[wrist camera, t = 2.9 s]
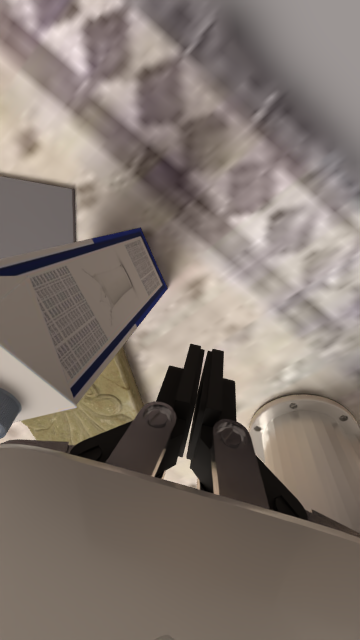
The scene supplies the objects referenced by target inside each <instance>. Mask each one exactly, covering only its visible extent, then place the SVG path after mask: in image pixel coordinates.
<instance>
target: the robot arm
mask: <svg viewBox="0 0 360 640" xmlns="http://www.w3.org/2000/svg"><path fill="white" fill-rule="evenodd" d="M204 351H205V350H203V349H201V346H198V345H194V344H190V347H189V351H188V354H187V358H186V362H185V365H184V369H182V368H178V367H174V366H169V368H168V370H167V373H166V376H165V378H164V381H163V384H162V387H161V389H160V392H159V395H158V397H157V400H156V402H150V403H148V404H146V405H144V406H143V407H142V408H141V409H140V411H139V412H138V414H137V416H136V417H135V419H134V420H133V421H130V422H128V423H125V424H123V425H120V426H118V427H115V428H113V429H110V430H108V431H105V432H103V433H100V434H98V435H95V436H93V437H90V438H88V439H86V440H83V441H81V442H80V443H78V444H76V445H69V442H63V441H41V440H18V439H17V440H9V441H6V442H4V443H1V444H0V640H360V428H359V426H358V423H357V422H356V420H355V419H354V417H353V415H352V414H351V413H350V412H349V411H348V410H347V409H346V408H345V407H343V406H342V405H340V404H339V403H337V402H335V401H333V400H330V399H328V398H325V397H320V396H316V395H307V394H300V395H290V396H285V397H281V398H278V399H275V400H273V401H271V402H269V403H267V404H266V405H264V406H263V407H262V408H260V409H259V410H258V411H257V412H256V414H255V415H254V416H253V418H252V420H251V422H250V426H249V432H248V430H247V429H246V428H245V427H244V426H243V425H242V424H240V423H238V422H236V396H235V381H233V380H228V379H224V378H223V360H224V351H220V350H216V349H213V350H212V351H208V352H207V356H206V361H205V365H204V369H203V373H202V377H201V381H200V375H201V369H202V363H203V357H204ZM199 381H200V385H199ZM198 387H199V389H198ZM197 392H198V393H197ZM194 408H195V410H194ZM193 413H194V416H193ZM192 417H193V422H192V428H191V434H190V440H189V446H188V452H187V459H190V460H191V464H190V469H192V470H193V472H194V473H195V475H196V476H197V477H198V479H197V489H195V488H192V487H188V486H185V485H181V484H178V483H174V482H170V481H167V480H163V478H164V476H165V472H166V470H167V469H169V468H171V467H172V466H174V465H176V462H177V458H178V456H179V457H183V453H184V449H185V445H186V441H187V437H188V433H189V429H190V425H191V421H192ZM256 455H257V456H258V457H257V456H256ZM260 459H261V460H262V461H263V462H264V463H265V464H264V463H263V462H262V461H261V460H260Z"/></svg>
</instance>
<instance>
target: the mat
mask: <svg viewBox="0 0 360 640" xmlns="http://www.w3.org/2000/svg"><path fill="white" fill-rule="evenodd" d="M74 242H76V241H75V195H74V189H69V188H64V187H58V186H53V185H47V184H42V183H36V182H31V181H25V180H19V179H14V178H8V177H3V176H0V259H3V258H7V257H12V256H16V255H21V254H25V253H30V252H34V251H39V250H43V249H48V248H52V247H56V246H61V245H65V244H70V243H74Z"/></svg>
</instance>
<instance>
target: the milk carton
mask: <svg viewBox="0 0 360 640" xmlns="http://www.w3.org/2000/svg"><path fill="white" fill-rule="evenodd" d="M166 290H167V286H166V284H165V282H164V279H163V277H162V275H161V273H160V270H159V268H158V266H157V264H156V261H155V259H154V257H153V255H152V252H151V250H150V248H149V246H148V243H147V241H146V239H145V237H144V235H143V232H142V230H141V228H137V229H132V230H128V231H123V232H119V233H114V234H110V235H105V236H101V237H97V238H92V239H88V240H83V241H79V242H74V243H70V244H65V245H61V246H56V247H52V248H48V249H43V250H39V251H34V252H30V253H25V254H21V255H16V256H12V257H7V258H3V259H0V439H1V438H3V437H4V436H5V435H6V433H7V432H8V430H9V428H10V427H11V425H12V423H13V422H18V421H22V420H26V419H30V418H35V417H39V416H43V415H47V414H52V413H56V412H60V411H64V410H69V409H73V408H77V406H76V405H77V404H78V402H79V401H80V400H81V398H82V397H83V396H84V395H85V393H86V392H87V391H88V390H89V388H90V387H91V386H92V384H93V383H94V382H95V381H96V379H97V378H98V377H99V375H100V374H101V373H102V372H103V370H104V369H105V368H106V367H107V365H108V364H109V363H110V361H111V360H112V359H113V358H114V356H115V355H116V354H117V353H118V351H119V350H120V349H121V347H122V346H123V345H124V344H125V342H126V341H127V340H128V339H129V337H130V336H131V335H132V333H133V332H134V331H135V330H136V328H137V327H138V326H139V325H140V323H141V322H142V321H143V319H144V318H145V317H146V316H147V314H148V313H149V312H150V311H151V309H152V308H153V307H154V305H155V304H156V303H157V302H158V300H159V299H160V298H161V297H162V295H163V294H164V293H165V291H166Z"/></svg>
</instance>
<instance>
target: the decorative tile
mask: <svg viewBox="0 0 360 640" xmlns="http://www.w3.org/2000/svg"><path fill="white" fill-rule="evenodd" d="M76 406H77V408H73V409H69V410H64V411H60V412H56V413H52V414H47V415H43V416H39V417H35V418H30V419H26V420H22V421H21V422H22V423H23V424H25V425H26V426H28V428H29V429H30V431H31V433H32V434H33V436H34V437H35V439H36V440H41V441H63V442H69V445H76V444H78V443H80V442H81V441H83V440H86V439H88V438H90V437H93V436H95V435H98V434H100V433H103V432H105V431H108V430H110V429H113V428H115V427H118V426H120V425H123V424H125V423H128V422H130V421H133V420H134V419H135V417H136V416H137V414H138V412H139V411H140V409H141V408H142V407H143V406H144V405H143V402H142V399H141V396H140V394H139V391H138V388H137V385H136V382H135V380H134V377H133V374H132V371H131V369H130V366H129V363H128V360H127V357H126V354H125V352H124V349H123V346H122V347H121V349H120V350H119V351H118V353H117V354H116V355H115V356H114V358H113V359H112V360H111V361H110V363H109V364H108V365H107V367H106V368H105V369H104V370H103V372H102V373H101V374H100V375H99V377H98V378H97V379H96V381H95V382H94V383H93V384H92V386H91V387H90V388H89V390H88V391H87V392H86V393H85V395H84V396H83V397H82V398H81V400H80V401H79V402H78V404H77V405H76Z"/></svg>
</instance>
